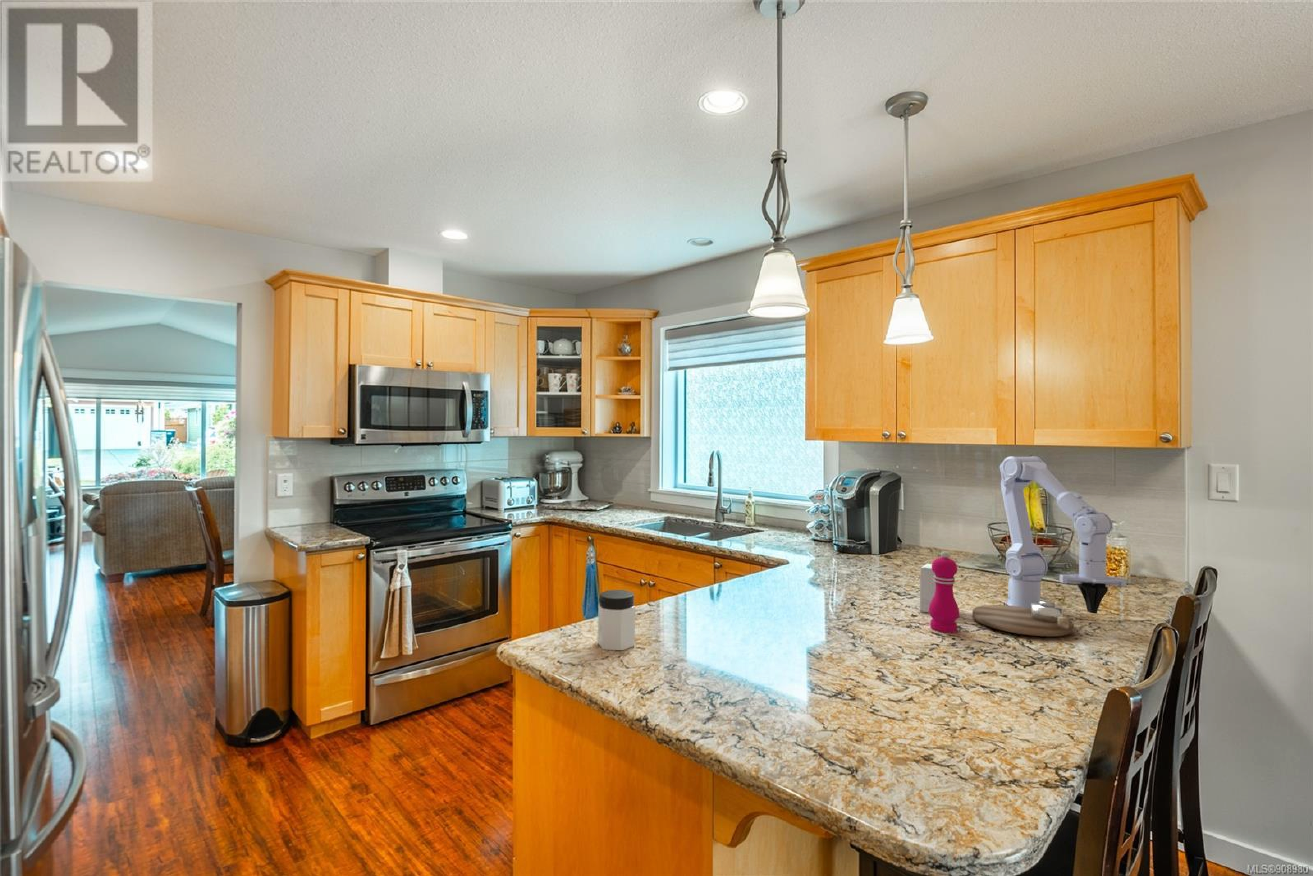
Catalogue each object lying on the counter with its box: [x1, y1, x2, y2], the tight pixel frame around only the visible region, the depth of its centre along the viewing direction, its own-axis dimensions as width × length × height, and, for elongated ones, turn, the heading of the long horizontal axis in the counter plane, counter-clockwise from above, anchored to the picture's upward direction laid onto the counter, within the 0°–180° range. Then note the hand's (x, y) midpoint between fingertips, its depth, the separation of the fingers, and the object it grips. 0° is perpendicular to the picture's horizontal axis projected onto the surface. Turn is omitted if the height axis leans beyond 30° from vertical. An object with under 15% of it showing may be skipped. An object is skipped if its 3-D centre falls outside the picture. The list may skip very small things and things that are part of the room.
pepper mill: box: [928, 551, 960, 633], centre depth 158 cm, size 7×7×20 cm
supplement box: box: [919, 563, 936, 614], centre depth 175 cm, size 7×7×13 cm
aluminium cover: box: [1031, 599, 1064, 623], centre depth 161 cm, size 7×7×4 cm
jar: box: [597, 589, 636, 651], centre depth 144 cm, size 9×8×12 cm
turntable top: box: [971, 604, 1075, 637], centre depth 162 cm, size 23×23×4 cm
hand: (1092, 612), depth 158 cm, fingers closed
